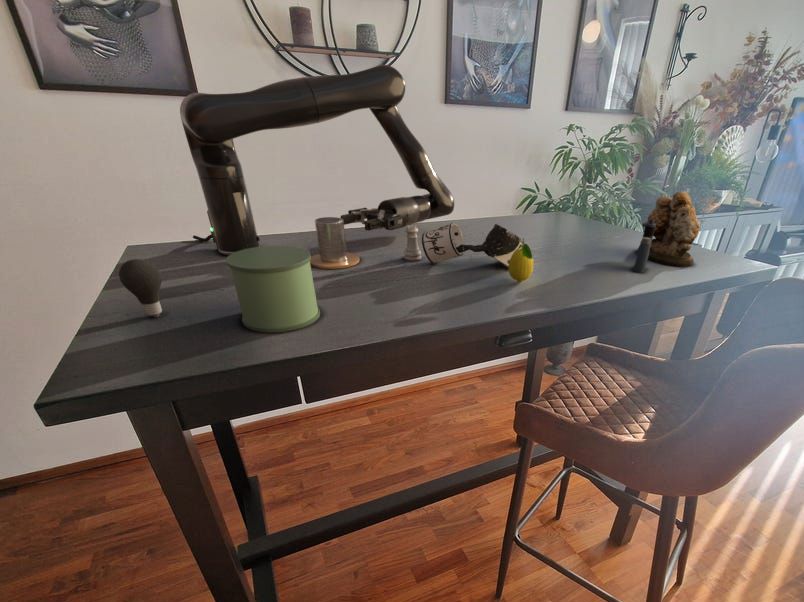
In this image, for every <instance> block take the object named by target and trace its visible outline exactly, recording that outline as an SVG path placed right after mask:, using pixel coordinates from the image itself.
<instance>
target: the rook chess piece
mask: <svg viewBox="0 0 804 602" xmlns="http://www.w3.org/2000/svg"><path fill="white" fill-rule="evenodd" d="M404 232H406V236H405V237H406V248H405V250H404V251H403V254H404V255H403V258H404V259H405V260H406V261H409V262H417V261H420V260H421V259H422V251H421V250H420V247H419V244H418V232H419V229H418V226H417V225H416V224H412V225H407V226H406V227H405V229H404Z"/></svg>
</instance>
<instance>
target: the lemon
mask: <svg viewBox="0 0 804 602" xmlns="http://www.w3.org/2000/svg"><path fill="white" fill-rule="evenodd" d="M522 242H523V244H522V245H520V246H519V248H518V249H517V250H515V252H514V253H513V255H512V256H511V259H510V262H509V267H508V273H509V276H510V278H511V279H513V280H514V281H516V282H517V283H519V284H521V283H522V282H523V281H526V280H528V279H529V278H530V277H531V275H532V274H533V270H534V259H533V254H532V250H531V248H530V246H529V245H528V244H527V243H525V238H524V237H523V238H522ZM524 243H525V244H524ZM523 245H524V246H523ZM521 247H522V248H521ZM520 248H521V249H520ZM519 249H520V250H519Z"/></svg>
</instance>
